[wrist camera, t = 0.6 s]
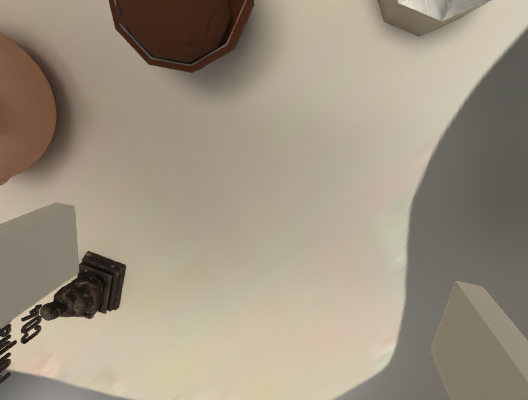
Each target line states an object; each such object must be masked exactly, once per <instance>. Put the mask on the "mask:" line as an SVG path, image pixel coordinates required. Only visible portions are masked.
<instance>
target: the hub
mask: <svg viewBox="0 0 528 400" xmlns="http://www.w3.org/2000/svg"><path fill="white" fill-rule="evenodd" d="M378 1H379V5H380V8H381V12H382V15H383V19H384V22H387V23H389V24H392V25H394V26H396V27H399V28H401V29H403V30H406V31H408V32H410V33H413V34H415V35H417V36H420V35H422V34H424V33H426V32H429V31H431V30H433V29H436V28H438V27H440V26H442V25H445V24H447V23H449V22H452V21H454V20H456V19H459V18H461V17H463V16H464V15H466V14H468V13H469V12H471V11H473V10H475V9H476V8H478V7H480V6H482V5H483V4H485V3H487V2H488V1H490V0H378Z"/></svg>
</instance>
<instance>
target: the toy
mask: <svg viewBox="0 0 528 400" xmlns="http://www.w3.org/2000/svg"><path fill="white" fill-rule="evenodd" d="M56 117H57V114H56V103H55V100H54V96H53V92H52V90H51V87H50V85H49V83H48V80H47V79H46V77H45V76H44V74H43V72H42V71H41V69H40V68H39V66H38V65H37V64H36V63H35V62H34V60H33V59H32V58H31V57H30V56H29V55H28V54H27V53H26V52H25V51H24V50H23V49H22V48H20V47H19V46H18V45H17V44H16V43H14V42H13V41H12V40H11V39H9V38H8V37H6V36H5V35H3V34H1V33H0V185H2V184H4V183H6V182H7V181H8V180H9V179H10V177H12V176H14V175H16V174H18V173H20V172H22V171H23V170H25V169H27V168H28V167H30V166H31V165H32V164H33V163H35V162H36V161H37V160H38V159H39V158H40V157H41V155H42V154H43V153H44V152H45V151H46V149H47V147H48V145H49V144H50V142H51V140H52V138H53V134H54V131H55V127H56Z"/></svg>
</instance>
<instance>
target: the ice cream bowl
mask: <svg viewBox="0 0 528 400" xmlns="http://www.w3.org/2000/svg"><path fill="white" fill-rule="evenodd" d="M109 3H110V8H111V12H112V16H113V20H114V24H115V29H116V30H117V31H118V32H119V33H120V34H121V35H122V36H123V37H124V38H125V40H126V41H127V42H128V43H129V44H130V45H131V46H132V47H133V48H134V49H135V50H136V51H137V52H138V53H139V55H140V56H141V57H142V58H143V59H144V60H145V61H146V62H147V63H148V64H149V65H154V66H159V67H165V68H170V69H175V70H181V71H186V72H191V73H192V72H195V71H197V70H199V69H201V68H203V67H205V66H206V65H208V64H210V63H212V62H213V61H215V60H217V59H218V58H220V57H222V56H224V55H225V54H227V53H229V52H231V51H232V50H234V49H235V47H236V44H237V42H238V40H239V38H240V35H241V33H242V31H243V29H244V26H245V24H246V22H247V20H248V17H249V15H250V13H251V11H252V8H253V6H254V0H109Z"/></svg>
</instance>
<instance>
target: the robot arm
mask: <svg viewBox="0 0 528 400" xmlns="http://www.w3.org/2000/svg"><path fill="white" fill-rule="evenodd" d="M77 273H79V261H78V246H77V231H76V216H75V206H71V205H66V204H61V203H54V204H51V205H48V206H46V207H43V208H41V209H38V210H36V211H33V212H31V213H28V214H25V215H23V216H20V217H18V218H15V219H13V220H10V221H7V222H5V223H2V224H0V328H2V327H3V326H4V325H6V324H7V323H9V322H10V321H11V320H13V319H14V318H16V317H17V316H18V315H20V314H21V313H23V312H24V311H25V310H27V309H28V308H30V307H31V306H32V305H34V304H35V303H37V302H38V301H39V300H41V299H42V298H44V297H45V296H47V295H48V294H49V293H51V292H52V291H54V290H55V289H56V288H58V287H59V286H61V285H62V284H63V283H65V282H66V281H68V280H69V279H70V278H72V277H73V276H75V275H76V274H77ZM430 352H431V355H432V357H433V360H434V362H435V364H436V367H437V369H438V372H439V374H440V376H441V379H442V381H443V383H444V386H445V388H446V391H447V393H448V396H449V398H450V400H528V341H527V340H526V338H525V337H524V336H523V335H522V334H521V332H520V331H519V330H518V329H517V327H515V325H514V324H513V323H512V322H511V320H510V319H509V318H508V317H507V316H506V314H505V313H504V312H503V311H502V310H501V308H500V307H499V306H498V305H497V304H496V302H495V301H494V300H493V299H492V298H491V296H490V295H489V294H488V293H487V292H486V290H485V289H484V288H483V287H482V286H478V285H473V284H468V283H462V282H458V281H456V282H455V285H454V287H453V290H452V292H451V295H450V298H449V301H448V303H447V306H446V309H445V311H444V314H443V317H442V320H441V323H440V325H439V328H438V330H437V333H436V336H435V338H434V341H433V344H432V347H431V349H430Z"/></svg>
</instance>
